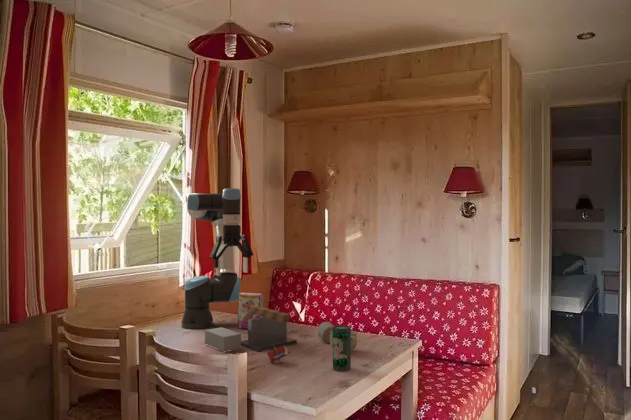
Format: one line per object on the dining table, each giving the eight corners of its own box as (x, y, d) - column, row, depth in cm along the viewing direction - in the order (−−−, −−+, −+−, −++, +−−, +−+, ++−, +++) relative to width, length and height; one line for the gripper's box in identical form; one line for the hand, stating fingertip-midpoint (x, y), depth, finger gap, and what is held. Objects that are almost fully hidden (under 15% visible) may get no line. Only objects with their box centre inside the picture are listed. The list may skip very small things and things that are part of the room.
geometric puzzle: (265, 360, 194) (278, 342, 195) (261, 355, 200) (274, 337, 201) (280, 371, 195) (293, 352, 197) (276, 365, 202) (289, 347, 203)
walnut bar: (247, 312, 232) (247, 305, 232) (253, 311, 234) (253, 304, 234) (283, 322, 213) (283, 315, 213) (289, 321, 215) (289, 314, 214)
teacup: (325, 349, 216) (325, 329, 216) (350, 346, 220) (350, 327, 220) (339, 358, 203) (339, 338, 203) (365, 355, 207) (365, 335, 207)
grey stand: (205, 344, 224) (205, 330, 224) (221, 341, 229) (221, 327, 229) (223, 352, 212) (223, 337, 212) (240, 348, 217) (240, 333, 217)
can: (329, 368, 191) (329, 327, 191) (341, 365, 195) (341, 324, 195) (342, 372, 187) (342, 329, 186) (353, 368, 191) (353, 327, 191)
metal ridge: (238, 345, 223) (238, 317, 222) (277, 336, 236) (277, 311, 235) (257, 352, 212) (257, 323, 212) (296, 343, 225) (296, 316, 225)
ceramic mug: (323, 344, 223) (323, 326, 223) (317, 339, 231) (317, 322, 231) (346, 343, 226) (347, 324, 226) (340, 338, 234) (340, 320, 234)
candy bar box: (237, 328, 251) (237, 294, 250) (241, 326, 255) (241, 292, 255) (259, 330, 248) (259, 295, 247) (263, 327, 252) (263, 293, 252)
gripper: (210, 225, 218) (210, 277, 218) (260, 223, 234) (261, 272, 235) (201, 225, 224) (201, 275, 224) (251, 223, 240) (251, 270, 240)
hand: (232, 273), depth 229 cm, fingers open, 13 cm apart
